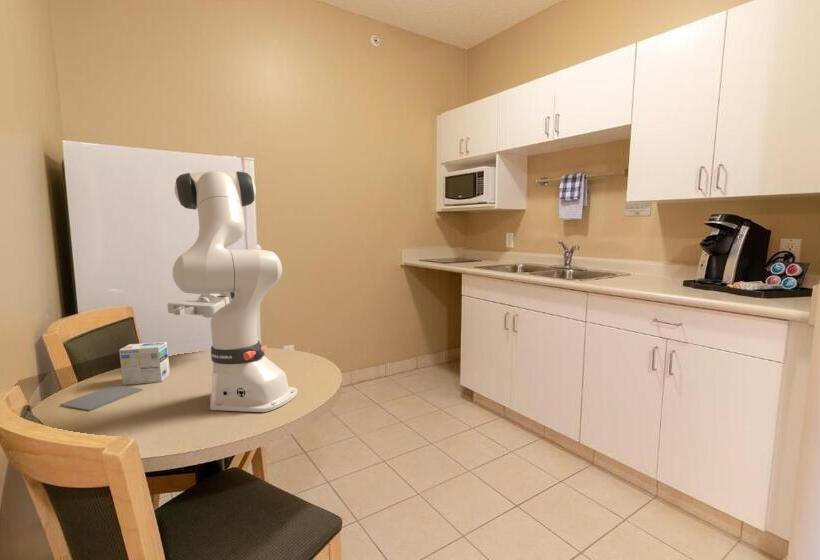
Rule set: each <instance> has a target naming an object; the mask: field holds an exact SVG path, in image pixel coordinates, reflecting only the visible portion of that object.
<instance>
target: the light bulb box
mask: <svg viewBox="0 0 820 560" xmlns="http://www.w3.org/2000/svg"><path fill="white" fill-rule="evenodd" d="M118 352H119V354H118V355H119V361H120V369H121V370H120V371H121V380H122V386H127V384H128V385H137V384H138V385H139V384H151V383H160V382H161V383H163V382H164V380H166V378H168V377H169V376H170V375H171V370H170V369H171V368H170V362H169V351H168V343H167V341H160V342H159V341H158V342H145V343H143V342H142V343H129V344H127V345H126V346H123V347H122V348H120V349H119V350H118Z"/></svg>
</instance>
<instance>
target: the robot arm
mask: <svg viewBox="0 0 820 560" xmlns="http://www.w3.org/2000/svg"><path fill="white" fill-rule="evenodd" d="M174 194H175V197H176V199H177V201H178V202H179V204H180V205H181V206H182V207H183V208H184V209H188V210H197V215H198V227H199V228H198V230H199V231H198V237H197V239H196V241H195V242H194V244H193V245H192V246H190V248H189V249H188V250H186V251H185V252H184V253H182V254H180V255H179V256H178V257H177V259H176V260H175V262H174V264H173V266H172V267H173V268H172V278H173V281H174V283H175V286H177V288H178V289H180V291H182V292H183V293H186V294H192V295H193V294H194V295H199V296H198V298H197V300H195V299H194V300H193V299H183V300H175V301H170V302H168V303H167V312H168V313H170V314H173V315H175V316H185V315H190V316H191V315H192V316H202V317H203V318H208V319H209V318H210V328H211V329H210V330H211V344H212V345H211V347H210V358H211V362H213V363H212V364H213V366H212V368H213V370H212V380H211V381H212V382H211V390H210V391H211V392H210V397H209V403H210V404H209V410H210V411H224V412H225V411H228V412H231V411H232V412H249V413H250V412H251V413H266V412H270V411H273V410H275V409H278V408H280V407H282V406H284V405H285V404H288V403H289V402H290V401H292V400H293V399H294V398H295V397H296V396H297V394H298V388H297V387H293V386H289V383H288V382H289V381H288V378H287V374H286V372H285V371H284V370H283V369H282V368H280V366H278V365H277V364H275V363H274V362H273V361H271V360H270V359H269V358H268V357H267V356H265V354H266V353H265V351H267V350H268V348H267V347H268V345H264V346H262V343H261V342H260V341H259V337H258V336H259V335H258V333H259V332H258V320H259V319H258V317H259V312H260V311H259V310H260V307H261V304H262V303H263V300H264V299H265V297H266V295H267V294H268V293H269V292H270V291H271V290H272V289H273V288H274V287H276V285H277V284H278V283H279V281H280V280H281V278H282V275H283V264H282V261H281V260H280V257H279V256H278V255H277V254H276V252H274V251H272V250H267V249H266V250H265V249H259V248H244V249H242V248H241V249H228V248H227V247H229V246H231V245H233V244H235V243H237V242H238V241H239V240H240V239H242V237H243V236H244V235H245V232H246V223H245V219H244V213H243V212H244V211H243V208H244V207H247V206H250V205H252V204H253V203H254V202H255V199H256V194H257V187H256V184H255V182H254V180H253V178H252V176H251V175H250V174H249V173H248V172H243V171H236V172H235V171H234V172H233V171H218V170H209V171H208V170H207V171H200V172H192V173H191V172H186V173H182V174H179V175H178V177H176V178H175V183H174ZM242 207H243V208H242Z"/></svg>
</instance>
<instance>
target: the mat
mask: <svg viewBox="0 0 820 560" xmlns="http://www.w3.org/2000/svg"><path fill="white" fill-rule="evenodd" d="M143 390H144V389H143V388H140V387H133V386H127V385H120V384H119V385H118V384H113V385H109V386H106V387H105V388H102V389H98V390H95V391H93V392H90V393H87V394H85V395H82V396H78V397H76V398H74V399H70V400H68V401H65V402H62V403H59V406H60V405H61V406H60V407H64V406H66V407H65V408H69V407H71V408H70V409H75V408H76V410H80V409H81V411H86V410H87V411H86V412H92V411H93V410H95V409H98V408H101V407H103V406H106V405H108V404H111V403H114V402H116V401H119V400H120V399H124V398H126V397H129V396H131V395H133V394H137V393H139V392H141V391H143Z"/></svg>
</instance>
